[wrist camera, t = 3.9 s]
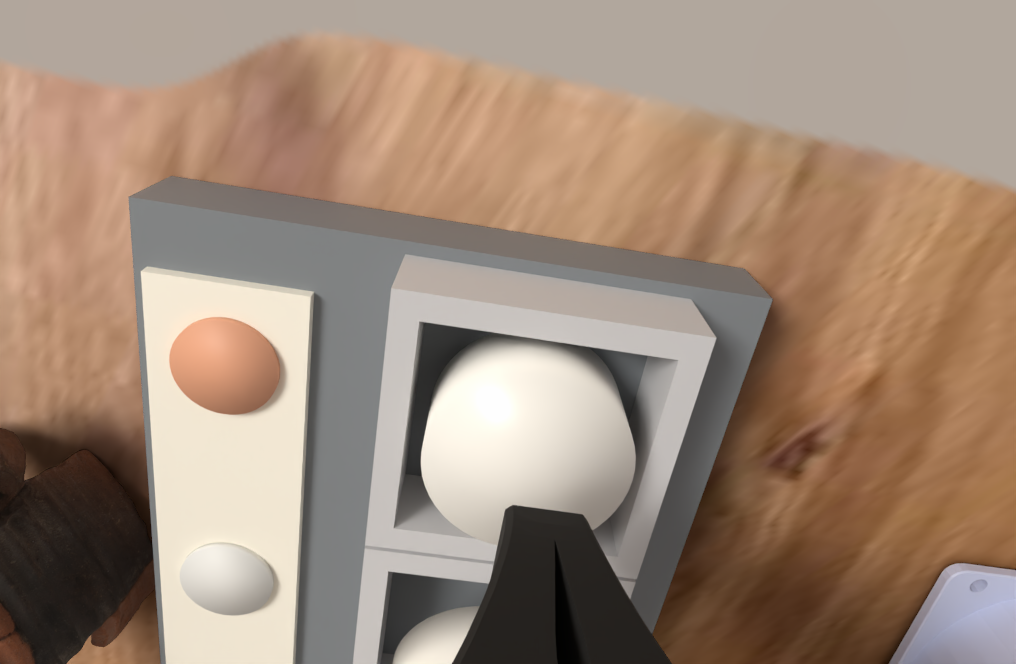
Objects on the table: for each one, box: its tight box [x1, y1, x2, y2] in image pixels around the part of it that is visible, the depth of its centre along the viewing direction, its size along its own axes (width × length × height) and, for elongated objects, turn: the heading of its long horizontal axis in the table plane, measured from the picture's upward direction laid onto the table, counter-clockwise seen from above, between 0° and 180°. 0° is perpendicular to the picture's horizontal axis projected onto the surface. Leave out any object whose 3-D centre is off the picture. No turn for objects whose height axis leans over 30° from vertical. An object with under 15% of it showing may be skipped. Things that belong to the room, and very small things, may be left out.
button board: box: [129, 176, 773, 664], centre depth 19 cm, size 14×20×4 cm
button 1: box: [421, 333, 636, 546], centre depth 15 cm, size 4×4×2 cm
